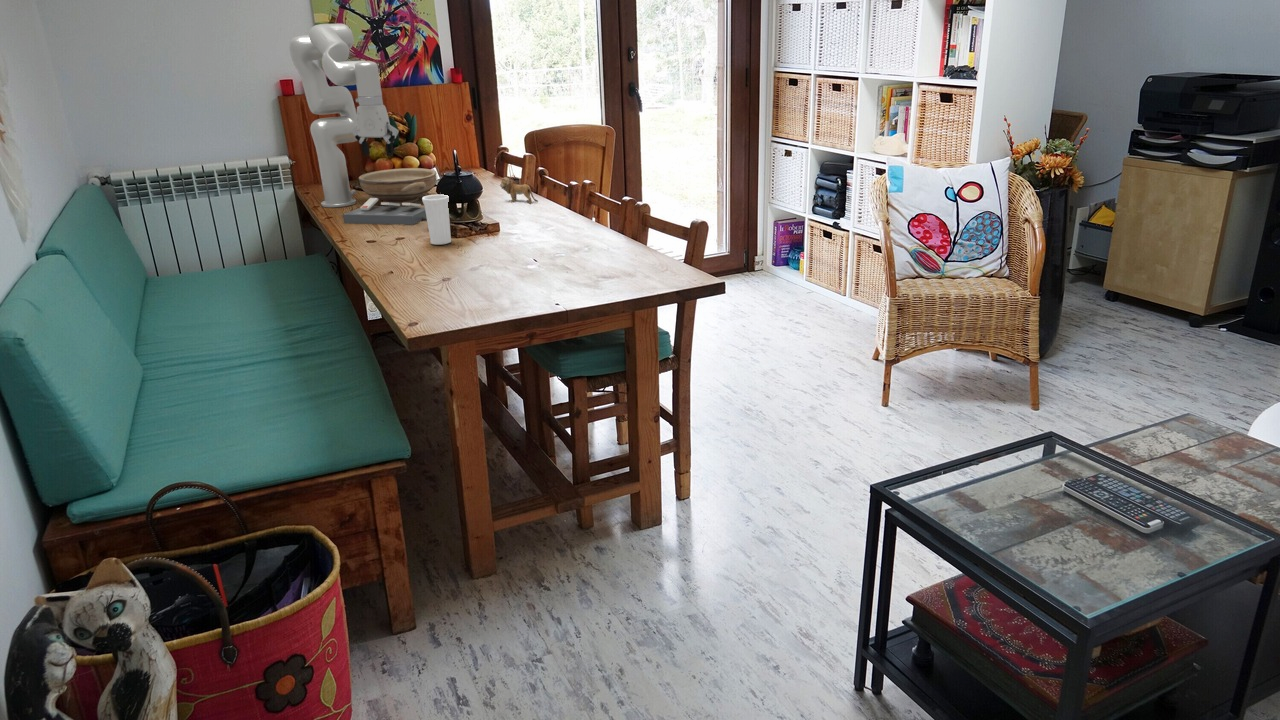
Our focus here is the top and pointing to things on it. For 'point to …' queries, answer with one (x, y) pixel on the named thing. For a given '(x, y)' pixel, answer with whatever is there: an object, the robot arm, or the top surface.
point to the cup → (438, 218)
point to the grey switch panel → (386, 215)
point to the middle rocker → (390, 204)
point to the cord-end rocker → (411, 204)
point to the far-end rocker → (369, 204)
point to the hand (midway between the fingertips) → (378, 155)
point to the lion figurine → (516, 189)
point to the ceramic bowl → (398, 184)
